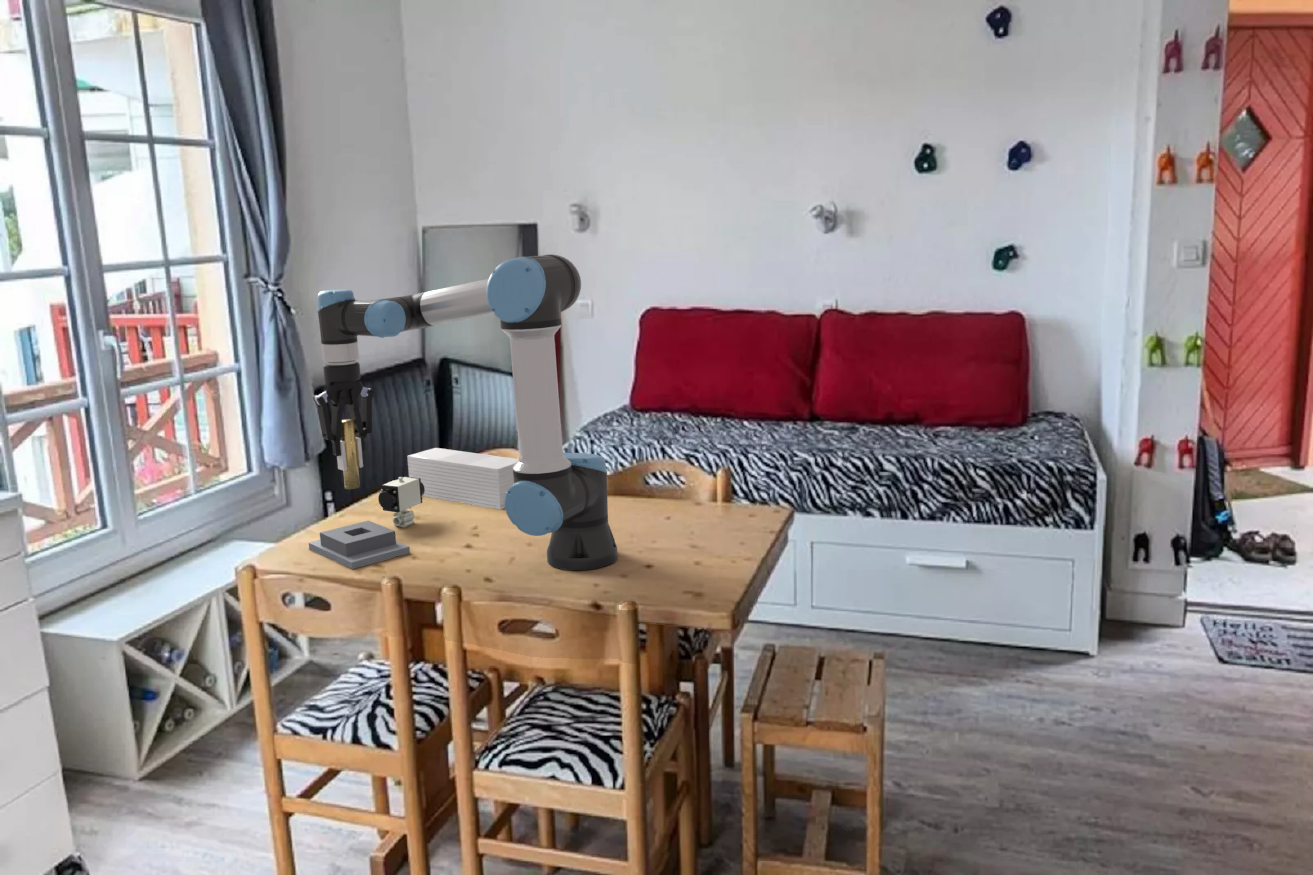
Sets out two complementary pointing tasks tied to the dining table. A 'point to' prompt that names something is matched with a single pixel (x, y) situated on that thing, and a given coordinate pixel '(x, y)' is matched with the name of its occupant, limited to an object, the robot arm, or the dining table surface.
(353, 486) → the brass pin
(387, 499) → the pneumatic valve
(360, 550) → the grey socket base
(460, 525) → the dining table surface
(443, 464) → the stack of papers
